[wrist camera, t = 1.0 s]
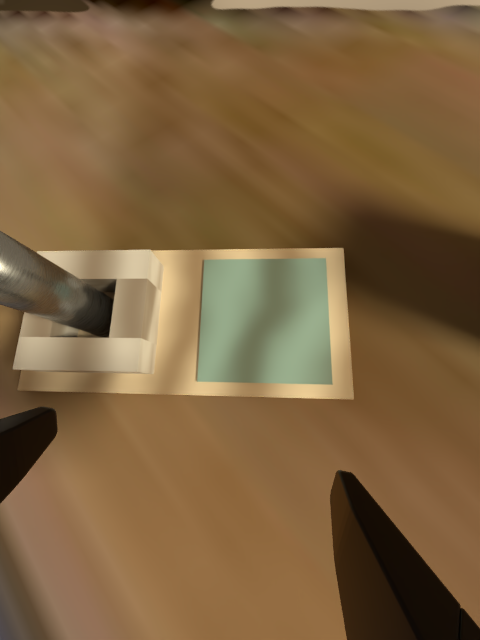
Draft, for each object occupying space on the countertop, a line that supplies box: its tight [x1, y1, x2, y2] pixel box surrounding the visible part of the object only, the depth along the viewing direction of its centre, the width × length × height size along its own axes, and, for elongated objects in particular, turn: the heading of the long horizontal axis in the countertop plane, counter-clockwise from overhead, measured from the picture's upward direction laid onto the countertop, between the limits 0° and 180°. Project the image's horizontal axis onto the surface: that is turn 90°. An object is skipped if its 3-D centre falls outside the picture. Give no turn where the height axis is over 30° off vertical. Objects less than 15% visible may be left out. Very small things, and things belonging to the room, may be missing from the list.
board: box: [13, 248, 354, 399], centre depth 22 cm, size 26×12×4 cm, turn 89°
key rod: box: [0, 231, 114, 337], centre depth 17 cm, size 3×3×13 cm
